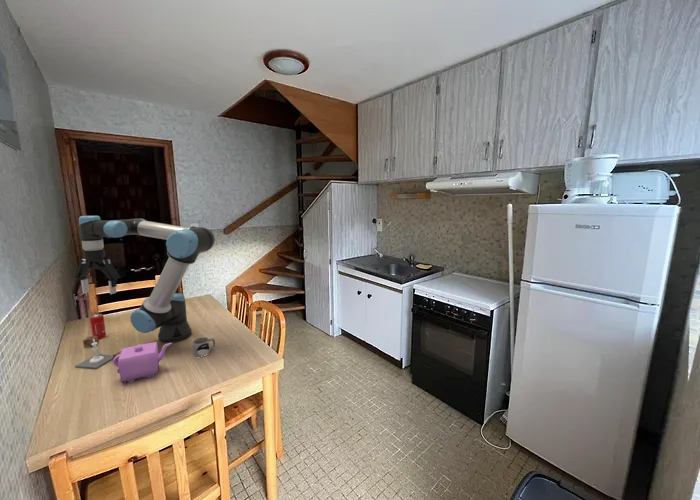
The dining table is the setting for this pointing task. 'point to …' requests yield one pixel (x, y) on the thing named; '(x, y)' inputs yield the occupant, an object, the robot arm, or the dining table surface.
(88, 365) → the coaster
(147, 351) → the teapot
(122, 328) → the dining table surface
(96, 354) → the chess piece
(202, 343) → the mug
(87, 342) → the walnut cube
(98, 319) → the beverage can
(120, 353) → the walnut cube
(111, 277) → the robot arm
